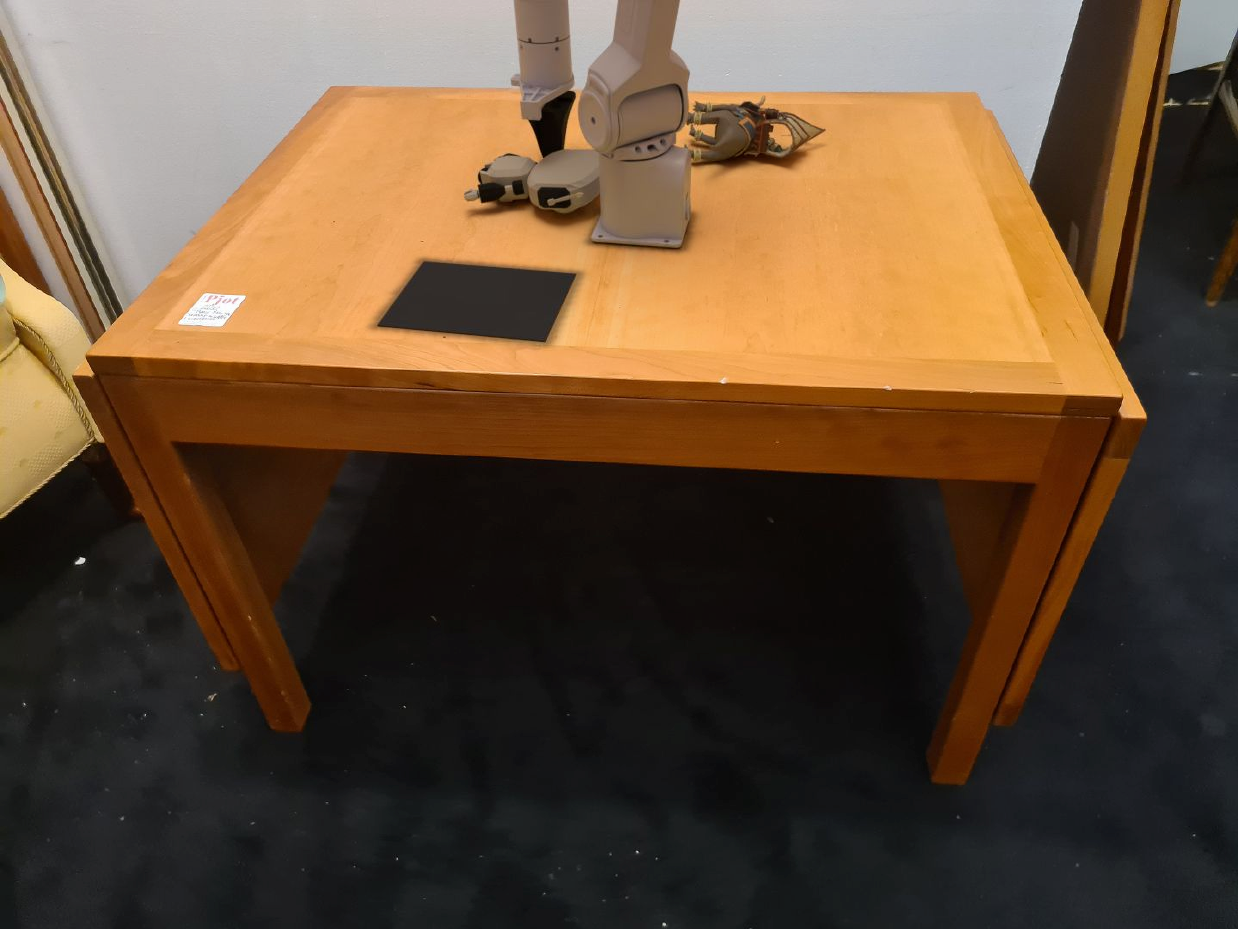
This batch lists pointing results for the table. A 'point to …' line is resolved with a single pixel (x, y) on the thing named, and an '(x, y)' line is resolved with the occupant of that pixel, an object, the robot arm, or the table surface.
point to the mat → (480, 301)
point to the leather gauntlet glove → (745, 130)
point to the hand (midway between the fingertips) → (552, 159)
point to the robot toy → (541, 180)
